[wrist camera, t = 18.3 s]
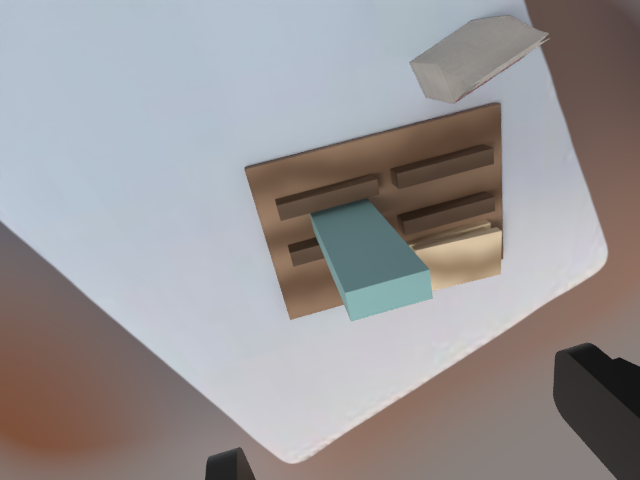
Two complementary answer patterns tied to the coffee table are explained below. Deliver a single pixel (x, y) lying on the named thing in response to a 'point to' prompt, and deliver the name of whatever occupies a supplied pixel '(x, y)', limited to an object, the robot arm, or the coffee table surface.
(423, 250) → the pine offcuts
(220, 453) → the robot arm
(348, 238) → the teal panel
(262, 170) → the walnut rack
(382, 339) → the coffee table surface
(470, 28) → the tea bag
